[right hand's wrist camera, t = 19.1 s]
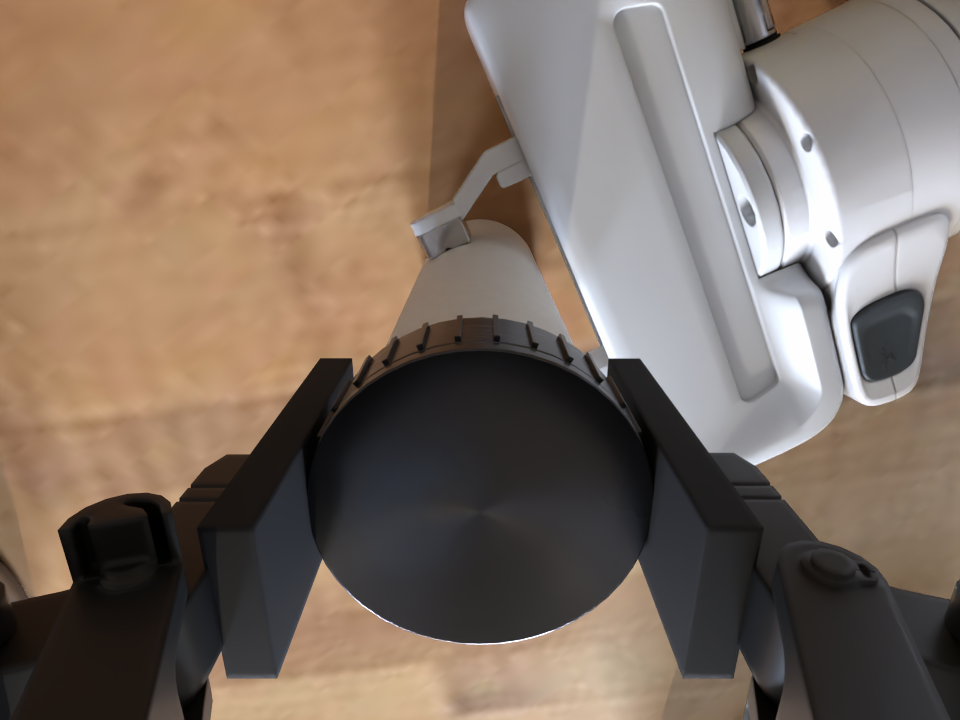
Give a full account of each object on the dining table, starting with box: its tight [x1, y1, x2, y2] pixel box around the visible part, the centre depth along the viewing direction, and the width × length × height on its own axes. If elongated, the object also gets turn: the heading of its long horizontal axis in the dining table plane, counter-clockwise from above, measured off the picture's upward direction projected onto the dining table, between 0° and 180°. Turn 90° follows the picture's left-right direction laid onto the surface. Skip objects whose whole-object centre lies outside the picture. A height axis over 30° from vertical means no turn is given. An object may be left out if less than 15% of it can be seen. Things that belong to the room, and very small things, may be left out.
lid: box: [307, 315, 654, 645], centre depth 11 cm, size 6×6×2 cm
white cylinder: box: [386, 219, 574, 346], centre depth 20 cm, size 5×5×19 cm
